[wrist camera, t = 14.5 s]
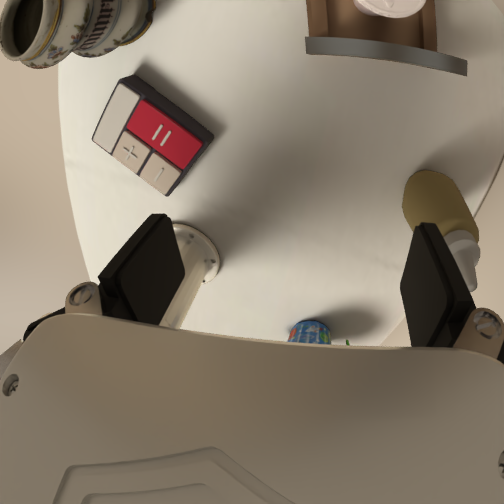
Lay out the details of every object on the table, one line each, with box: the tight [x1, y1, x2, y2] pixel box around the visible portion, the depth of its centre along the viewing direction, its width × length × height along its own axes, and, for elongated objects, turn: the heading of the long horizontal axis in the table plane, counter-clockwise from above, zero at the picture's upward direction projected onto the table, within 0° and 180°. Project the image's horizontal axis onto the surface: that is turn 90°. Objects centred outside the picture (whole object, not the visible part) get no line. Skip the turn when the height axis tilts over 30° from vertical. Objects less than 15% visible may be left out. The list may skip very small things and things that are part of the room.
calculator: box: [92, 75, 214, 197], centre depth 36 cm, size 11×4×15 cm
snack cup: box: [288, 321, 350, 346], centre depth 51 cm, size 16×10×10 cm
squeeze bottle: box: [402, 170, 480, 292], centre depth 26 cm, size 8×8×18 cm
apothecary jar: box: [0, 0, 156, 69], centre depth 19 cm, size 12×12×18 cm
